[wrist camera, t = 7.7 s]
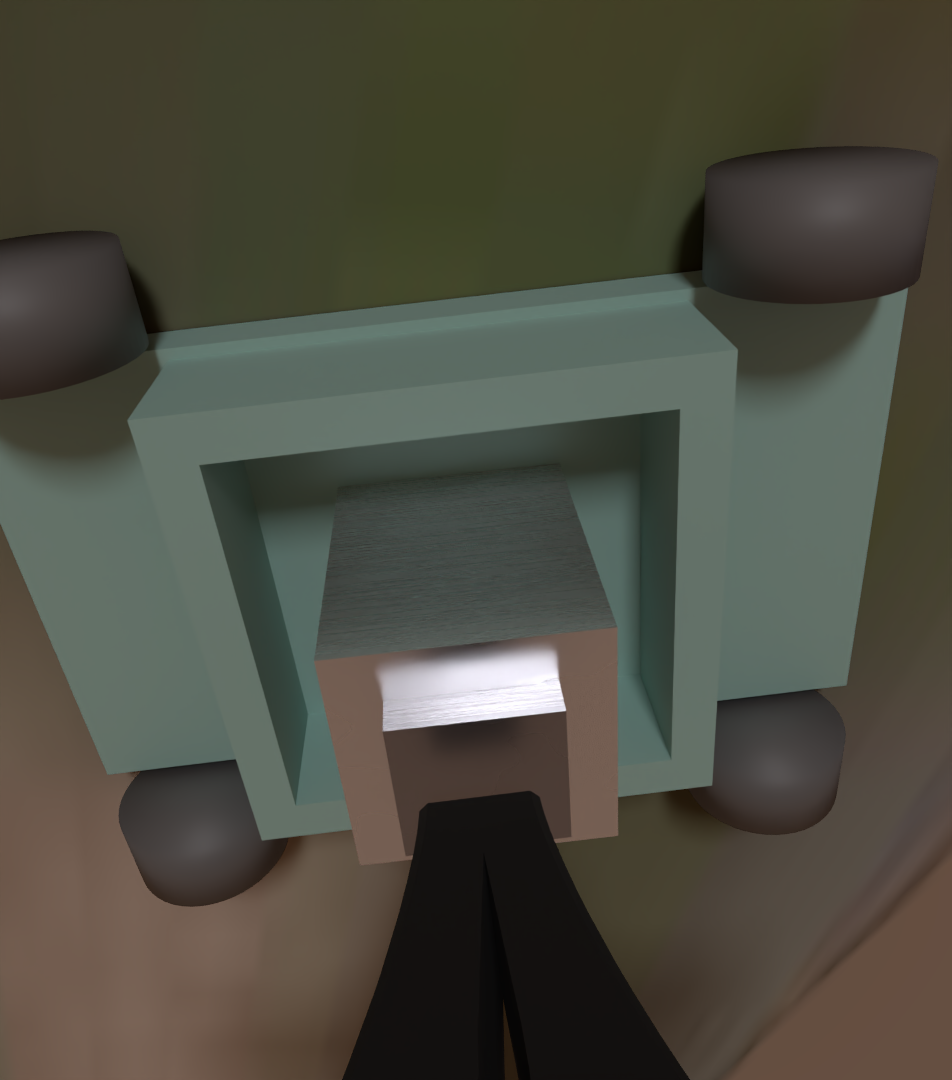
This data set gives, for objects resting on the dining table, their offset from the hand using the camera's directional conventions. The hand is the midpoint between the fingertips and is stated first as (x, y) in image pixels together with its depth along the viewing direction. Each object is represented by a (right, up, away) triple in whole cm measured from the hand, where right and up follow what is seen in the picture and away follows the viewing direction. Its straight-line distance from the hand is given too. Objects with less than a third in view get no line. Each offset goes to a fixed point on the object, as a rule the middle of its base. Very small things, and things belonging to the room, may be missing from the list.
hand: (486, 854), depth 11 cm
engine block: (0, +3, +6) cm, 7 cm away
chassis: (-1, +4, +7) cm, 8 cm away
